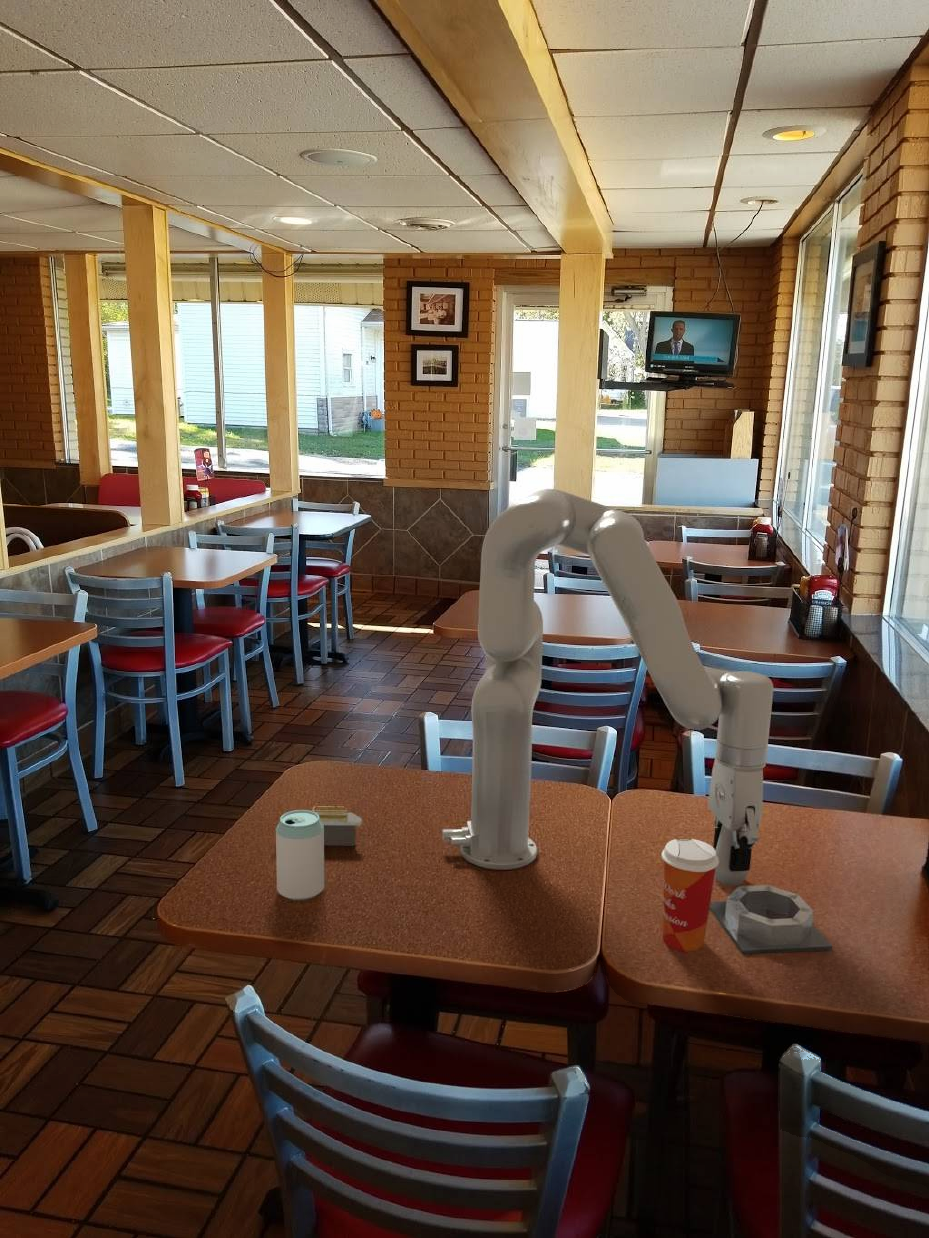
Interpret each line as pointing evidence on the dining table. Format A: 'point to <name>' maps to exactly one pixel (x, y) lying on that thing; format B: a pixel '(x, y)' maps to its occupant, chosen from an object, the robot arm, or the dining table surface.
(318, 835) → the can
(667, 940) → the paper cup
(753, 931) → the ring collar
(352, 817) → the platform
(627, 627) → the robot arm
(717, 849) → the grey peg
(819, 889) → the dining table surface
